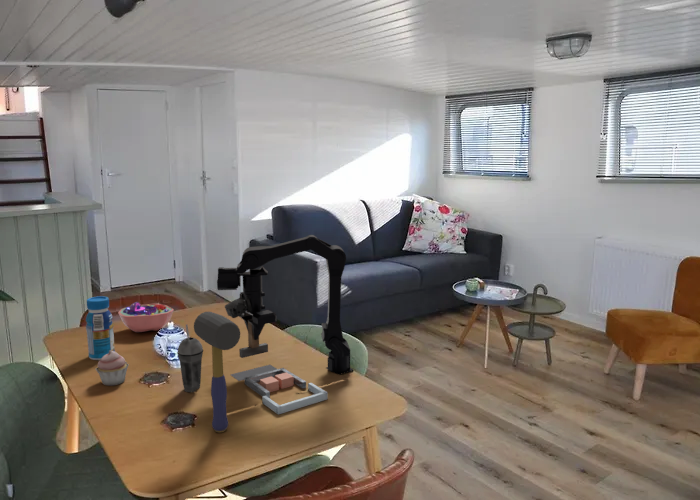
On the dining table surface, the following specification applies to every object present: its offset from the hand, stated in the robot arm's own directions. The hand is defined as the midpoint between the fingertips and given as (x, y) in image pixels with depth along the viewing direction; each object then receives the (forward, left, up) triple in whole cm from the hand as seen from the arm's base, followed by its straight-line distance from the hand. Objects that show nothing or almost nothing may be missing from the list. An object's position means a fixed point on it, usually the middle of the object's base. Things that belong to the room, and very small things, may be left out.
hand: (253, 338), depth 181 cm
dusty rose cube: (+2, +14, -12) cm, 18 cm away
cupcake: (+37, -20, -12) cm, 44 cm away
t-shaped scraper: (0, 0, -5) cm, 5 cm away
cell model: (+13, -62, -12) cm, 64 cm away
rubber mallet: (+24, +27, -12) cm, 38 cm away
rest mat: (0, 0, -12) cm, 12 cm away
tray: (0, +24, -12) cm, 26 cm away
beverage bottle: (+34, -44, -12) cm, 57 cm away
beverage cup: (+20, -1, -12) cm, 23 cm away
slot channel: (0, +13, -12) cm, 17 cm away
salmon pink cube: (-3, +14, -12) cm, 18 cm away
